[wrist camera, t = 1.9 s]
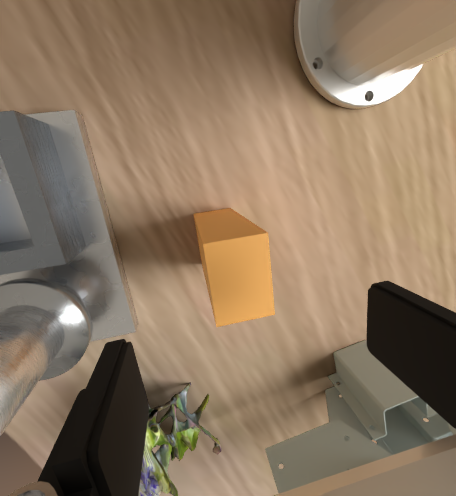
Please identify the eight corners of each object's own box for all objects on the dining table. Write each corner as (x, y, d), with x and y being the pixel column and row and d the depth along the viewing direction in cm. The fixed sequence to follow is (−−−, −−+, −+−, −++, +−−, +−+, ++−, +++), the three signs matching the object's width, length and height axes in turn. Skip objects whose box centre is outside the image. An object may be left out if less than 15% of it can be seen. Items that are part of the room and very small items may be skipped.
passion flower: (131, 368, 33) (51, 400, 21) (209, 345, 32) (169, 366, 20) (147, 469, 30) (64, 570, 18) (235, 448, 28) (205, 542, 17)
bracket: (259, 427, 32) (371, 787, 13) (245, 386, 30) (354, 748, 11) (447, 351, 34) (772, 566, 16) (447, 308, 32) (824, 496, 13)
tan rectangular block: (193, 213, 23) (202, 243, 13) (230, 207, 24) (268, 232, 13) (201, 263, 25) (216, 326, 14) (236, 257, 25) (274, 314, 15)
